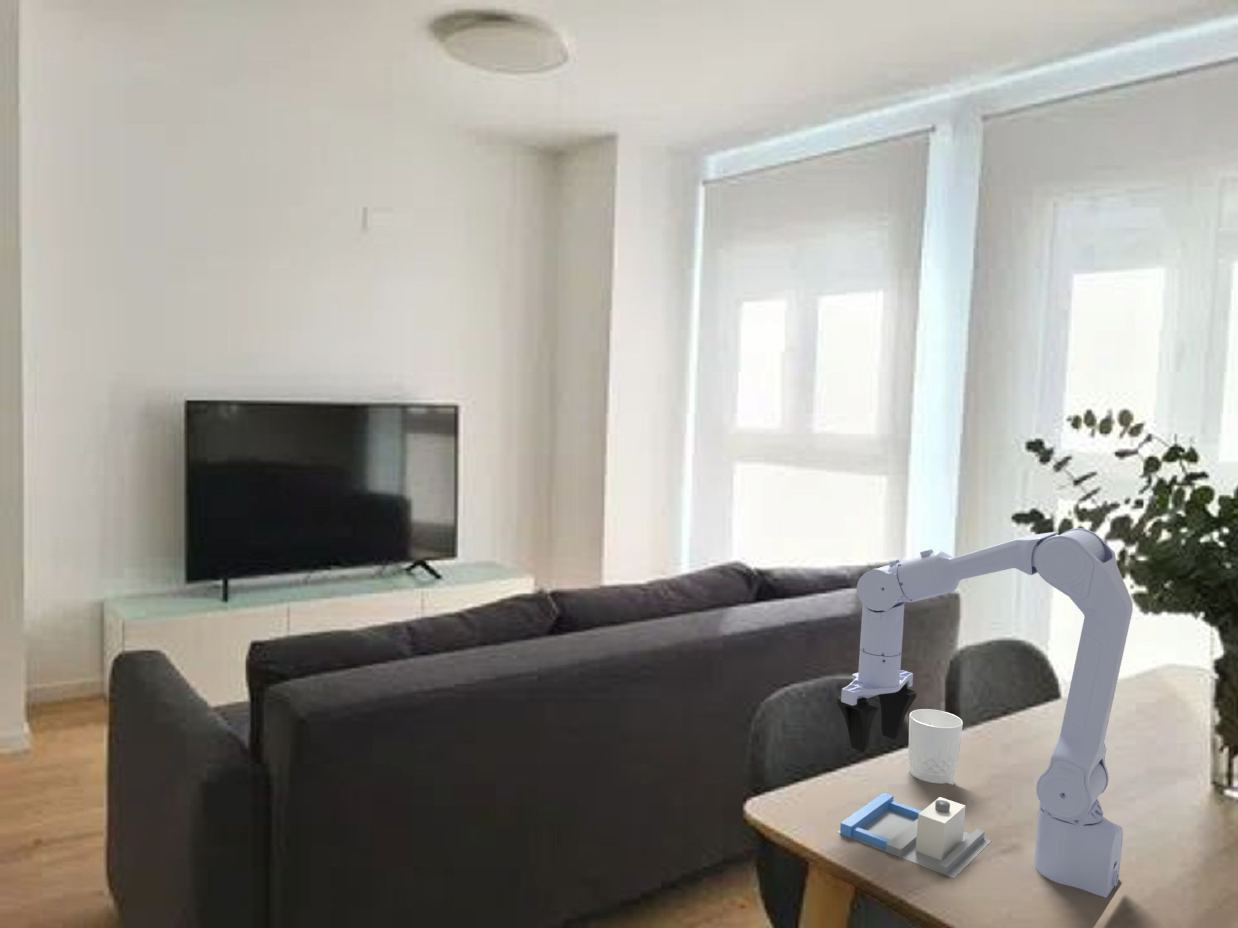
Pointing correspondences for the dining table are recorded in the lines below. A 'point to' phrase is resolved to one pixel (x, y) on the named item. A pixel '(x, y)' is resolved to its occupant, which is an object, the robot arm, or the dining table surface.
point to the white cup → (934, 745)
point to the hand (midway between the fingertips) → (874, 742)
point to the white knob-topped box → (940, 828)
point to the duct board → (906, 835)
